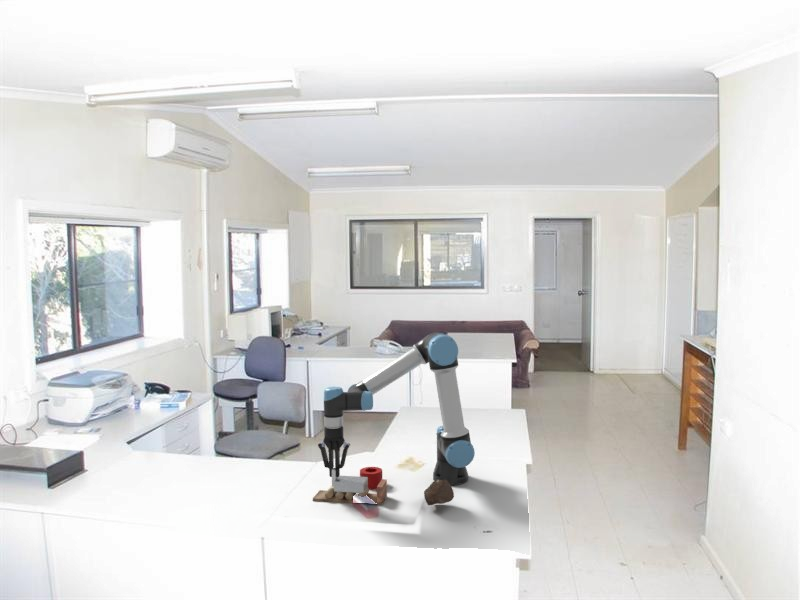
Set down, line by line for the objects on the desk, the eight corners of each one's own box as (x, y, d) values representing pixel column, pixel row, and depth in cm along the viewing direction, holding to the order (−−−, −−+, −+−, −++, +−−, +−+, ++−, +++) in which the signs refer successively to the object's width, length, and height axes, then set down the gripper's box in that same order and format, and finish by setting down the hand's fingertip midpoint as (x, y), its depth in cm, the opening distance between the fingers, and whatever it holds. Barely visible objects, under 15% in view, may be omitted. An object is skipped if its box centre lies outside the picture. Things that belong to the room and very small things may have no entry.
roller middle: (345, 483, 248) (349, 489, 248) (339, 487, 249) (343, 493, 249) (340, 490, 241) (344, 497, 240) (334, 494, 241) (338, 501, 241)
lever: (385, 488, 256) (384, 472, 256) (363, 490, 253) (363, 475, 253) (373, 474, 273) (373, 460, 273) (353, 477, 271) (352, 462, 270)
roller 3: (364, 494, 247) (361, 487, 247) (370, 492, 247) (367, 485, 247) (359, 501, 239) (356, 495, 239) (365, 499, 239) (362, 492, 239)
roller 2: (355, 484, 248) (359, 490, 248) (349, 488, 248) (353, 494, 248) (349, 491, 240) (354, 497, 240) (343, 495, 240) (348, 501, 240)
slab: (367, 486, 246) (367, 477, 246) (363, 493, 239) (363, 483, 239) (339, 485, 249) (338, 475, 248) (333, 491, 242) (333, 481, 241)
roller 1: (334, 482, 249) (339, 487, 249) (329, 487, 250) (334, 493, 250) (328, 489, 242) (333, 495, 241) (323, 495, 242) (328, 500, 242)
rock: (440, 512, 229) (440, 486, 229) (416, 507, 235) (416, 481, 234) (455, 502, 240) (455, 476, 239) (432, 497, 245) (432, 472, 245)
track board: (386, 496, 246) (386, 479, 246) (382, 505, 237) (381, 487, 237) (319, 492, 251) (319, 475, 251) (312, 500, 242) (312, 483, 242)
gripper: (352, 424, 247) (353, 482, 248) (321, 423, 249) (322, 480, 250) (347, 429, 239) (347, 489, 240) (315, 428, 242) (316, 487, 243)
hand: (334, 484), depth 245 cm, fingers closed
